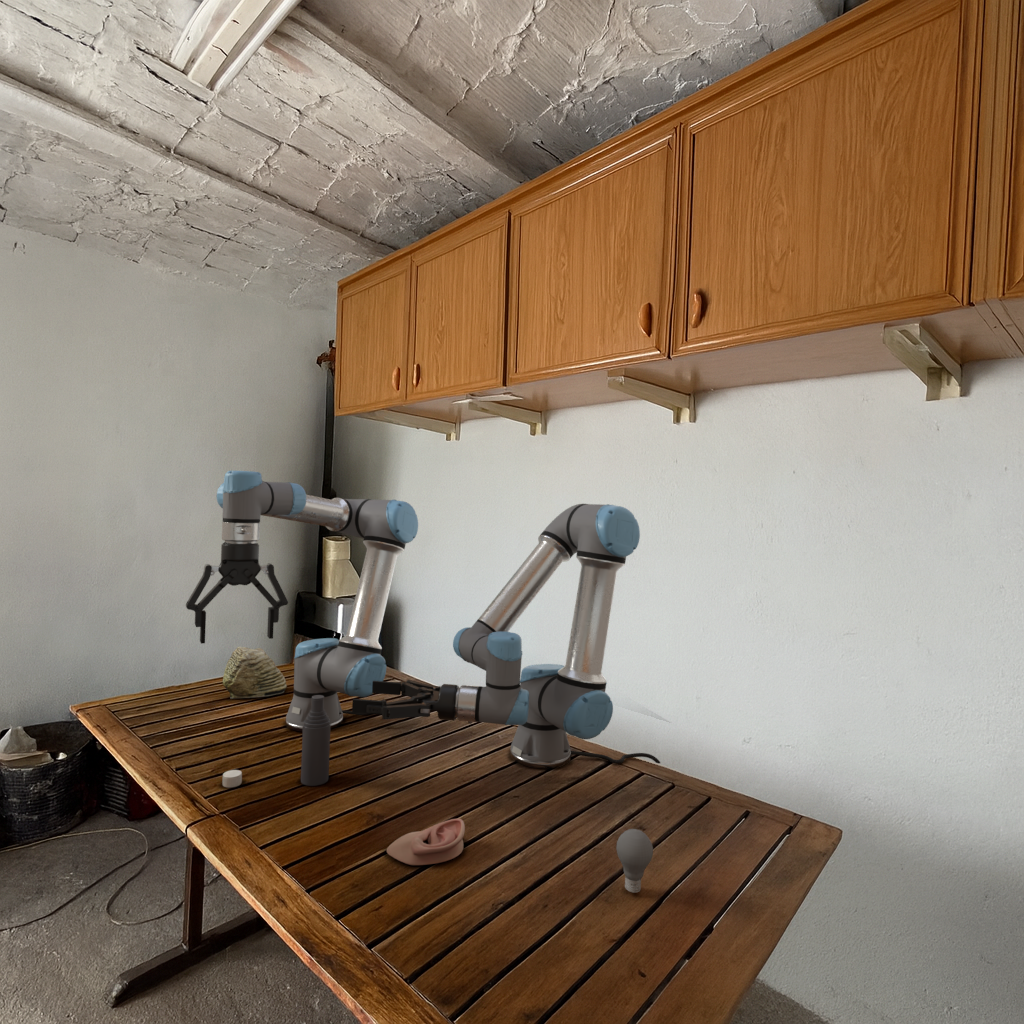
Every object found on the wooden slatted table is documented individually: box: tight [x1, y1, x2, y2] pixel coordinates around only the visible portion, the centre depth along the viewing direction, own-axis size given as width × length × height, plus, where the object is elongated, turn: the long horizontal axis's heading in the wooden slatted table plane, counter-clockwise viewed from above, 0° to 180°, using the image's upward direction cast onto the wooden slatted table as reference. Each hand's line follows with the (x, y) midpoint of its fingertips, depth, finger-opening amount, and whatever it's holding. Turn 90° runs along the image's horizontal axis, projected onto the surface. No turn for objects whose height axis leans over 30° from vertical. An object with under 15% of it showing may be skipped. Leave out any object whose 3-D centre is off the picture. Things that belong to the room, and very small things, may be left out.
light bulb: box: [615, 828, 654, 894], centre depth 106 cm, size 6×6×10 cm
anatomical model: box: [386, 818, 466, 866], centre depth 115 cm, size 13×4×12 cm
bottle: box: [300, 695, 331, 787], centre depth 141 cm, size 6×6×19 cm
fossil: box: [222, 646, 288, 699], centre depth 198 cm, size 9×18×15 cm, turn 132°
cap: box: [221, 769, 243, 789], centre depth 138 cm, size 4×4×2 cm
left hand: (237, 639), depth 137 cm, fingers open, 13 cm apart
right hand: (363, 695), depth 140 cm, fingers open, 13 cm apart
